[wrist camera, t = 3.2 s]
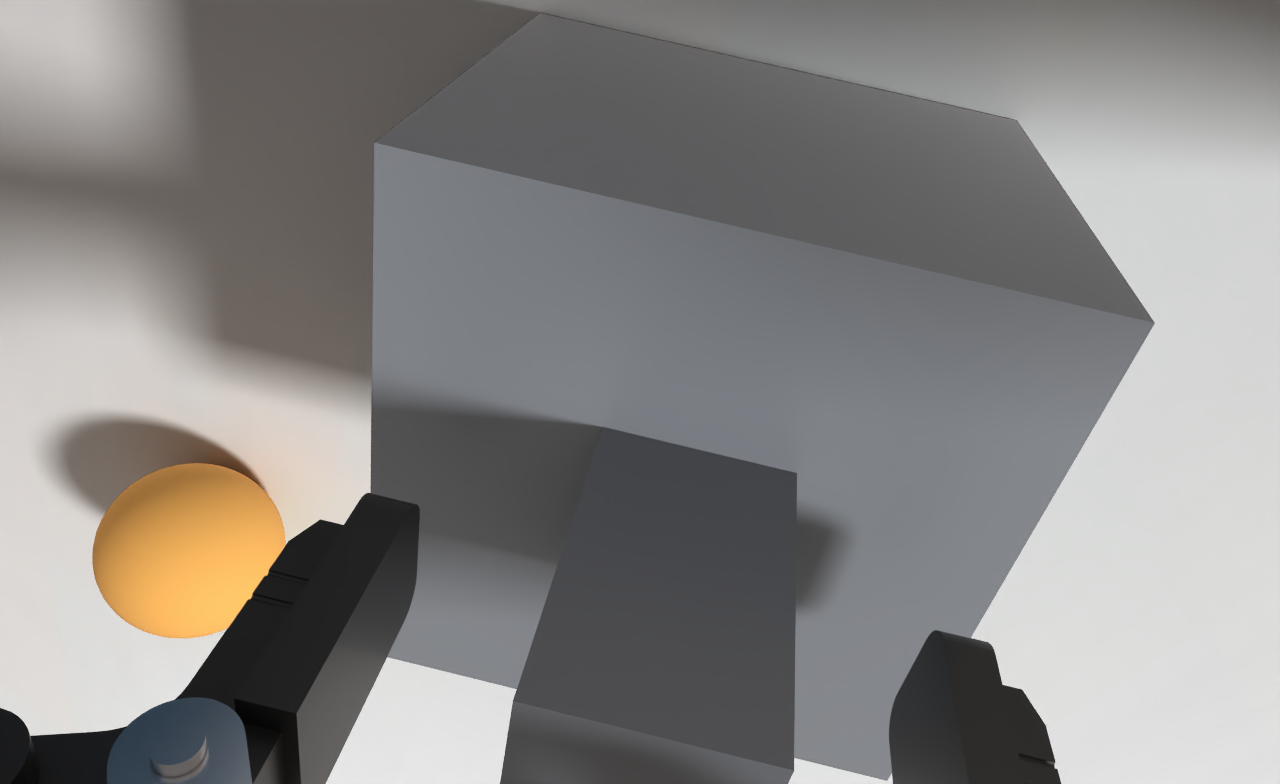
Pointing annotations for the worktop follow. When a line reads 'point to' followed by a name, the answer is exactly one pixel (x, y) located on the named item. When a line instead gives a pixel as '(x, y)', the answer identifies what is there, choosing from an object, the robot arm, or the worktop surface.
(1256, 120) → the worktop surface
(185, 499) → the ball
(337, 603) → the robot arm
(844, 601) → the gray block with peg
